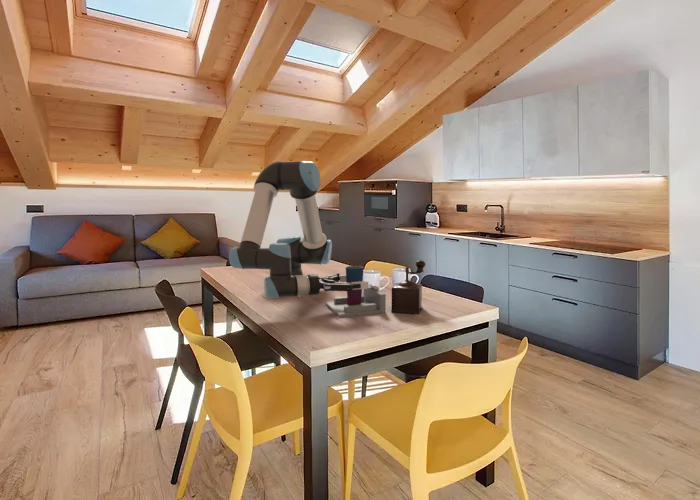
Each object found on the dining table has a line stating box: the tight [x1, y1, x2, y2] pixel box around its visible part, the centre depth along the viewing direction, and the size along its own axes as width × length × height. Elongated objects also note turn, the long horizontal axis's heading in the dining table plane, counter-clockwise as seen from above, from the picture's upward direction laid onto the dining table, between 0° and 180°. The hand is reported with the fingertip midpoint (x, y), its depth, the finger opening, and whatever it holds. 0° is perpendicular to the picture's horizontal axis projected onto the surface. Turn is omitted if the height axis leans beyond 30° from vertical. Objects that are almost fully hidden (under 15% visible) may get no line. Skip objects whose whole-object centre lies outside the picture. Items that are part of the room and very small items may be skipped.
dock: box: [325, 283, 387, 318], centre depth 160 cm, size 18×18×9 cm
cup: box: [345, 265, 365, 305], centre depth 160 cm, size 7×7×15 cm
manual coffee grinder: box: [391, 260, 426, 315], centre depth 160 cm, size 16×11×18 cm
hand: (361, 281), depth 160 cm, fingers open, 13 cm apart
